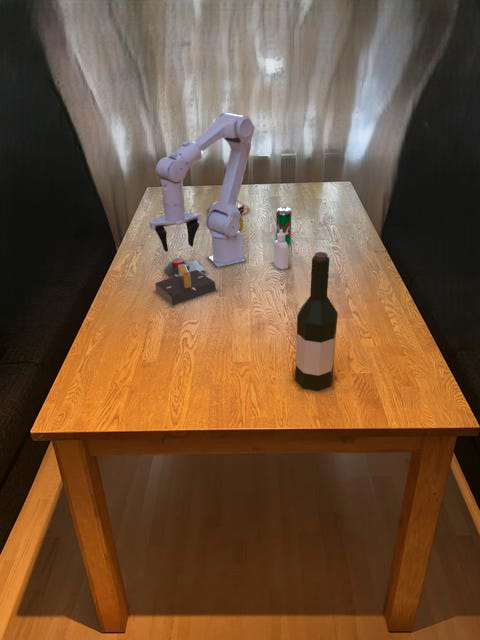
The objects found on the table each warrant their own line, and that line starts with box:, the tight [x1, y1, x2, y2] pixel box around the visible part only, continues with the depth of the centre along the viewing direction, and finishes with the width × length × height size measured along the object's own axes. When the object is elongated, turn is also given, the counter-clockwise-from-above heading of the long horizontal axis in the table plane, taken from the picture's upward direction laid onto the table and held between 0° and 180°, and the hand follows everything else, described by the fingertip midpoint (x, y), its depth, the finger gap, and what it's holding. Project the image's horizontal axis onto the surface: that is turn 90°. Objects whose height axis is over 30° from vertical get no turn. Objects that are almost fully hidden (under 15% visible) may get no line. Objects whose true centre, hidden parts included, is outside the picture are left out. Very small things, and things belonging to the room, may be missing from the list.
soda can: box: [275, 206, 293, 246], centre depth 176 cm, size 5×5×12 cm
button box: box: [165, 260, 206, 278], centre depth 162 cm, size 10×8×3 cm
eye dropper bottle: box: [273, 229, 289, 270], centre depth 161 cm, size 4×6×12 cm
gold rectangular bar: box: [178, 264, 191, 288], centre depth 150 cm, size 8×2×4 cm, turn 19°
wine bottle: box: [294, 251, 339, 392], centre depth 109 cm, size 8×8×30 cm
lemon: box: [239, 215, 244, 233], centre depth 185 cm, size 6×6×8 cm
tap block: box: [154, 270, 216, 307], centre depth 151 cm, size 14×12×3 cm
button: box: [171, 257, 185, 268], centre depth 160 cm, size 4×4×2 cm
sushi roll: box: [208, 199, 248, 216], centre depth 206 cm, size 15×15×4 cm
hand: (178, 247), depth 153 cm, fingers open, 7 cm apart
